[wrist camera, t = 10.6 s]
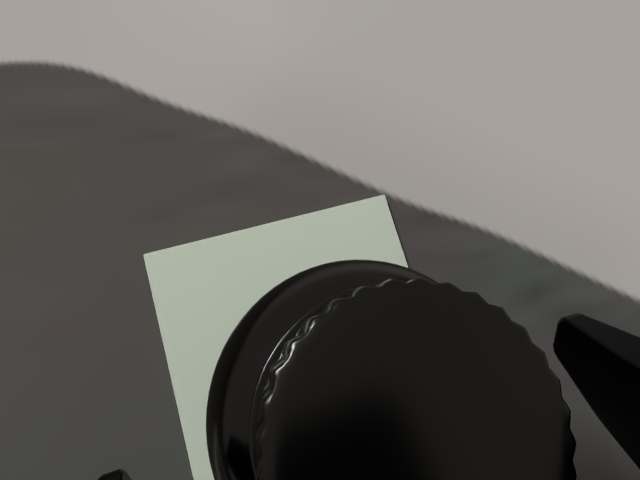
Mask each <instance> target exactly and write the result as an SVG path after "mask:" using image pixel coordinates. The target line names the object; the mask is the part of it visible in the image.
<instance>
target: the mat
mask: <svg viewBox="0 0 640 480" xmlns="http://www.w3.org/2000/svg"><path fill="white" fill-rule="evenodd" d="M143 255H144V260H145V264H146V269H147V273H148V278H149V282H150V286H151V291H152V295H153V300H154V304H155V309H156V313H157V318H158V322H159V327H160V331H161V335H162V340H163V344H164V349H165V353H166V358H167V362H168V367H169V371H170V376H171V380H172V384H173V389H174V393H175V398H176V402H177V407H178V411H179V416H180V420H181V425H182V429H183V433H184V438H185V442H186V447H187V451H188V456H189V460H190V465H191V469H192V474H193V478H194V480H214V477H213V473H212V469H211V465H210V461H209V455H208V448H207V439H206V409H207V402H208V394H209V389H210V385H211V381H212V376H213V373H214V370H215V367H216V364H217V361H218V359H219V356H220V354H221V352H222V350H223V347H224V345H225V344H226V342H227V340H228V338H229V336H230V335H231V333H232V331H233V330H234V328H235V327H236V326H237V324H238V323H239V321H240V320H241V319H242V317H243V316H244V315H245V314H246V313H247V311H248V310H249V309H250V308H251V307H252V306H253V305H254V304H255V303H256V302H257V301H258V300H259V299H260V298H261V297H262V296H263V295H265V294H266V293H267V292H268V291H270V290H271V289H272V288H273V287H275V286H276V285H278V284H280V283H281V282H283V281H284V280H286V279H288V278H289V277H291V276H293V275H295V274H297V273H299V272H302V271H304V270H307V269H309V268H311V267H315V266H318V265H322V264H325V263H330V262H335V261H341V260H353V259H360V260H376V261H383V262H388V263H393V264H397V265H401V266H404V267H407V268H408V265H407V262H406V259H405V256H404V253H403V250H402V247H401V244H400V241H399V238H398V235H397V232H396V229H395V225H394V222H393V219H392V216H391V213H390V210H389V207H388V204H387V201H386V198H385V195H381V196H377V197H373V198H369V199H365V200H361V201H357V202H353V203H349V204H345V205H340V206H336V207H332V208H328V209H324V210H320V211H316V212H312V213H308V214H304V215H300V216H296V217H292V218H288V219H284V220H280V221H276V222H272V223H268V224H264V225H260V226H256V227H252V228H248V229H244V230H240V231H236V232H232V233H228V234H224V235H220V236H216V237H212V238H208V239H204V240H200V241H195V242H191V243H187V244H183V245H179V246H175V247H171V248H167V249H163V250H159V251H155V252H151V253H147V254H143Z"/></svg>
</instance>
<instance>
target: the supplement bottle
mask: <svg viewBox="0 0 640 480" xmlns="http://www.w3.org/2000/svg"><path fill="white" fill-rule="evenodd" d="M206 439H207V448H208V455H209V461H210V465H211V469H212V473H213V477H214V480H576V477H577V476H576V471H575V467H574V464H573V457H574V453H575V448H576V442H575V439H574V436H573V434H572V432H571V430H570V409H569V407H568V406H567V404H566V403H565V401H564V400H563V398H562V393H561V384H560V380H559V379H558V377H557V376H556V375H555V374H554V373H553V372H552V370H551V369H550V368H549V365H548V361H547V358H546V355H545V352H544V351H542V350H541V349H540V348H539V347H537V346H536V345H535V344H533V343H532V341H531V338H530V336H529V334H528V332H527V330H526V329H525V328H524V327H523V326H521V325H519V324H517V323H515V322H513V321H512V320H511V319H510V317H509V316H508V314H507V313H506V312H505V311H504V309H503V308H501V307H498V306H495V305H490V304H488V303H487V302H486V301H485V300H484V299H483V298H482V297H481V296H480V295H479V294H478V293H476V292H463V291H461V290H460V289H458V288H457V287H456V286H454V285H452V284H451V283H449V282H445V283H438V282H437V281H435V280H433V279H431V278H430V277H428V276H426V275H424V274H422V273H420V272H417V271H415V270H412V269H410V268H407V267H404V266H401V265H397V264H393V263H388V262H383V261H376V260H360V259H353V260H341V261H335V262H330V263H325V264H322V265H318V266H315V267H311V268H309V269H307V270H304V271H302V272H299V273H297V274H295V275H293V276H291V277H289V278H288V279H286V280H284V281H283V282H281V283H280V284H278V285H276V286H275V287H273V288H272V289H271V290H270V291H268V292H267V293H266V294H265V295H263V296H262V297H261V298H260V299H259V300H258V301H257V302H256V303H255V304H254V305H253V306H252V307H251V308H250V309H249V310H248V311H247V313H246V314H245V315H244V316H243V317H242V319H241V320H240V321H239V323H238V324H237V326H236V327H235V328H234V330H233V331H232V333H231V335H230V336H229V338H228V340H227V342H226V344H225V345H224V347H223V350H222V352H221V354H220V356H219V359H218V361H217V364H216V367H215V370H214V373H213V376H212V381H211V385H210V389H209V394H208V402H207V409H206Z"/></svg>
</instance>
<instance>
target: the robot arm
mask: <svg viewBox="0 0 640 480" xmlns="http://www.w3.org/2000/svg"><path fill="white" fill-rule="evenodd" d="M553 348H554V352H555V354H556V356H557V358H558V359H559V361H560V362H561V364H562V365H563V367H564V368H565V370H566V371H567V373H568V374H569V376H570V377H571V379H572V380H573V382H574V383H575V385H576V386H577V388H578V389H579V391H580V392H581V394H582V395H583V397H584V398H585V400H586V401H587V403H588V404H589V406H590V407H591V409H592V410H593V411H594V413H595V414H596V416H597V417H598V418H599V420H600V421H601V422H602V423H603V425H604V426H605V427H606V428H607V430H608V431H609V432H610V433H611V435H612V436H613V437H614V438H615V440H616V441H617V442H618V443H619V444H620V446H621V447H622V448H623V449H624V451H625V452H626V453H627V454H628V455H629V457H630V458H631V459H632V460H633V462H634V463H635V464H636V465H637V466H638V468H639V469H640V337H638V336H635V335H633V334H630V333H628V332H625V331H623V330H620V329H618V328H615V327H613V326H610V325H608V324H605V323H603V322H600V321H598V320H595V319H593V318H590V317H588V316H585V315H583V314H579V313H575V314H571V315H568V316H566V317H563V318H561V319H560V320H559V321H558V323H557V328H556V333H555V338H554V343H553ZM98 480H132V479H131V478H130V476H129V474H128V473H127V471H126V470H124V469H118V470H115V471H112V472H110V473H107V474H104V475H102V476H101V477H100V478H99V479H98Z"/></svg>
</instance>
